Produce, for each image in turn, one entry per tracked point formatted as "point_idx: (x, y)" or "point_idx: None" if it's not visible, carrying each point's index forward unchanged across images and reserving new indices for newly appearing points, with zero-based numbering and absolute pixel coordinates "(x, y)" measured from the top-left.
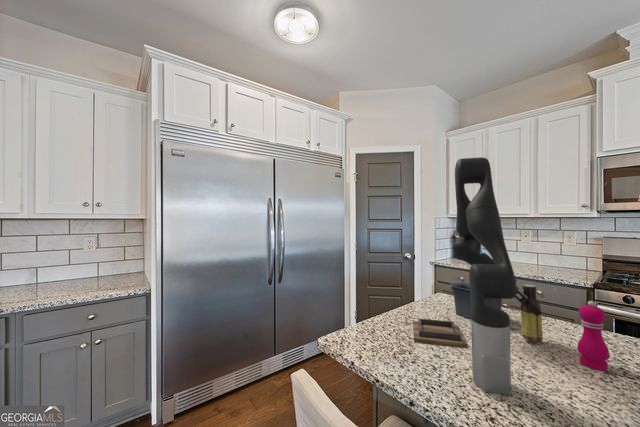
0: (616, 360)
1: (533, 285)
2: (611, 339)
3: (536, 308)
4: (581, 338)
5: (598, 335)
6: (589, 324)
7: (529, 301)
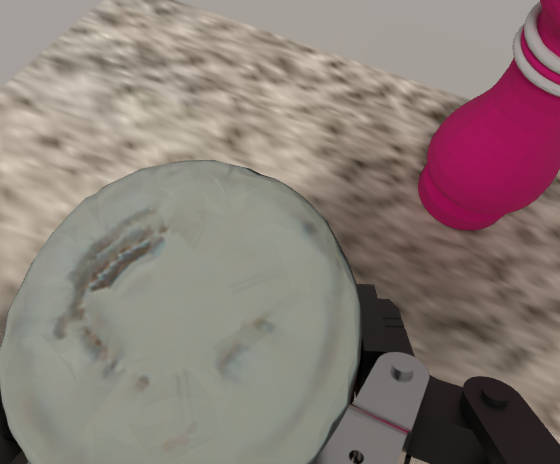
0: (365, 102)
1: (157, 194)
2: (150, 42)
3: (383, 324)
4: (521, 164)
5: None
6: None
7: (556, 449)
